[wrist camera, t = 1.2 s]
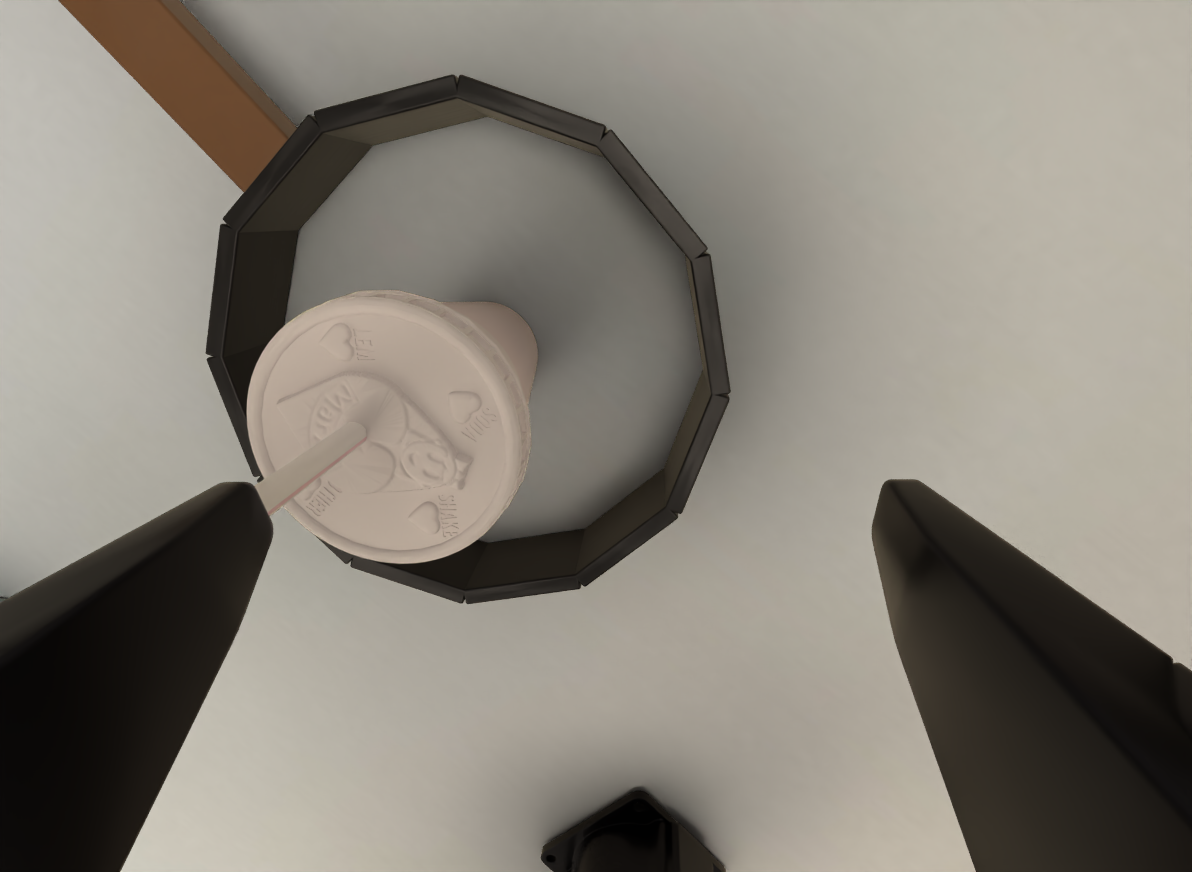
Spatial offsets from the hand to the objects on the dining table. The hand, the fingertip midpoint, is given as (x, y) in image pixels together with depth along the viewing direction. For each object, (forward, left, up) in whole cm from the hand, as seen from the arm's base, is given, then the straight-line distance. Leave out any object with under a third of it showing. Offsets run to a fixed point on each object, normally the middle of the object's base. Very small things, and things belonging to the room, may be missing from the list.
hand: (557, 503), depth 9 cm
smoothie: (-4, +2, -14) cm, 15 cm away
